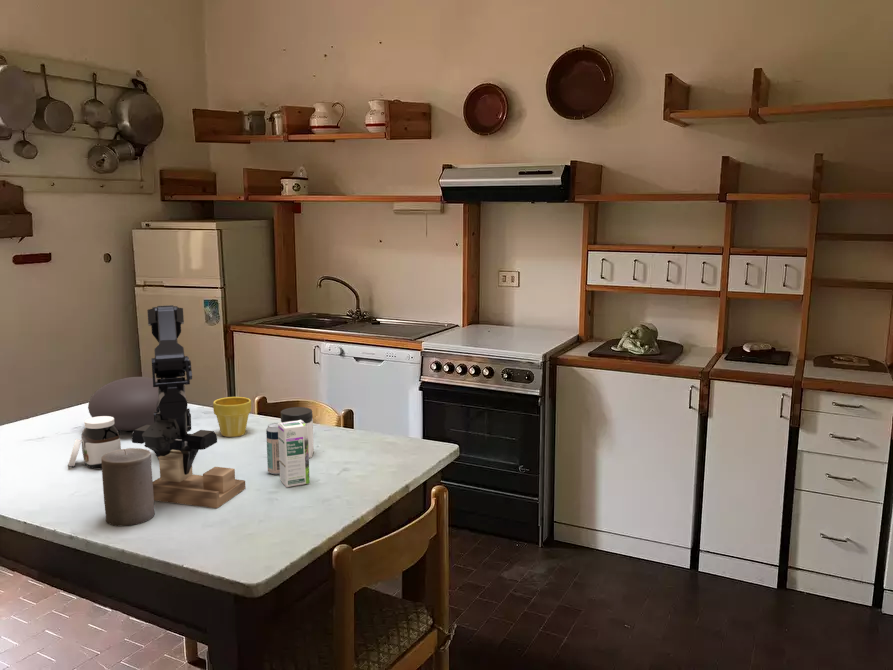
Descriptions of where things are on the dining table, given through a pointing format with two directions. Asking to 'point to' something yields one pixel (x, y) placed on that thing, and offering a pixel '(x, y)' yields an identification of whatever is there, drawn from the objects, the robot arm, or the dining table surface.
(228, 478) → the box
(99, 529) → the dining table surface
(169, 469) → the flanged wooden block
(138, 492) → the pillar candle
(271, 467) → the beer can
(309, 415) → the jar
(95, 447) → the spread jar
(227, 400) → the plant pot
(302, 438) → the syrup box
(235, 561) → the dining table surface
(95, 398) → the flattened ellipsoid
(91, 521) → the dining table surface
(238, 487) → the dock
